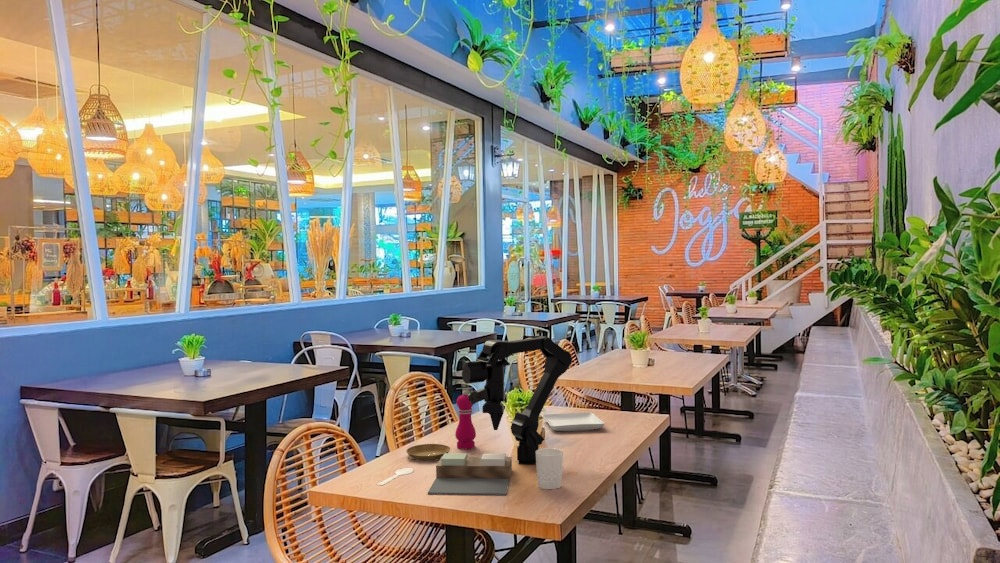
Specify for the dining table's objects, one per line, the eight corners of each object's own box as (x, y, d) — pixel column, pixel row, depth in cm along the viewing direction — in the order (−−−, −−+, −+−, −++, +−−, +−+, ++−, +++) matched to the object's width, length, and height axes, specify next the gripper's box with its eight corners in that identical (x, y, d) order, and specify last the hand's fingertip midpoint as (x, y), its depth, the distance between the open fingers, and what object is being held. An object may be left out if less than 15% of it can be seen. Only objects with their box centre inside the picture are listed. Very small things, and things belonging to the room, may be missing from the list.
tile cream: (505, 460, 210) (505, 453, 210) (504, 466, 204) (504, 459, 204) (483, 460, 210) (483, 453, 210) (481, 465, 204) (480, 459, 204)
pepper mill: (452, 448, 239) (451, 391, 238) (460, 443, 245) (459, 388, 245) (470, 450, 236) (469, 392, 236) (479, 445, 243) (478, 389, 242)
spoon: (370, 485, 201) (370, 483, 201) (403, 468, 218) (403, 466, 218) (386, 487, 199) (386, 485, 199) (418, 470, 215) (418, 468, 215)
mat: (509, 480, 203) (509, 478, 203) (505, 495, 190) (505, 493, 190) (436, 479, 205) (436, 477, 205) (427, 494, 192) (427, 492, 192)
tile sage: (467, 459, 211) (467, 453, 211) (464, 465, 205) (464, 458, 205) (444, 459, 211) (444, 453, 211) (441, 465, 205) (441, 458, 205)
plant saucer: (434, 465, 220) (434, 457, 220) (397, 460, 227) (397, 452, 227) (458, 454, 233) (458, 446, 233) (423, 449, 240) (423, 441, 240)
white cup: (555, 492, 192) (555, 456, 192) (531, 487, 196) (530, 453, 196) (568, 484, 199) (567, 450, 198) (544, 480, 203) (543, 446, 202)
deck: (511, 469, 213) (511, 457, 213) (509, 479, 203) (509, 466, 203) (442, 469, 215) (441, 456, 215) (436, 479, 205) (436, 465, 205)
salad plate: (541, 421, 279) (541, 413, 279) (592, 419, 281) (592, 411, 281) (550, 434, 258) (550, 425, 258) (605, 432, 260) (605, 423, 260)
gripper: (473, 375, 225) (473, 422, 225) (465, 385, 206) (466, 437, 207) (506, 375, 224) (507, 423, 224) (502, 385, 205) (503, 437, 206)
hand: (495, 429), depth 215 cm, fingers closed
